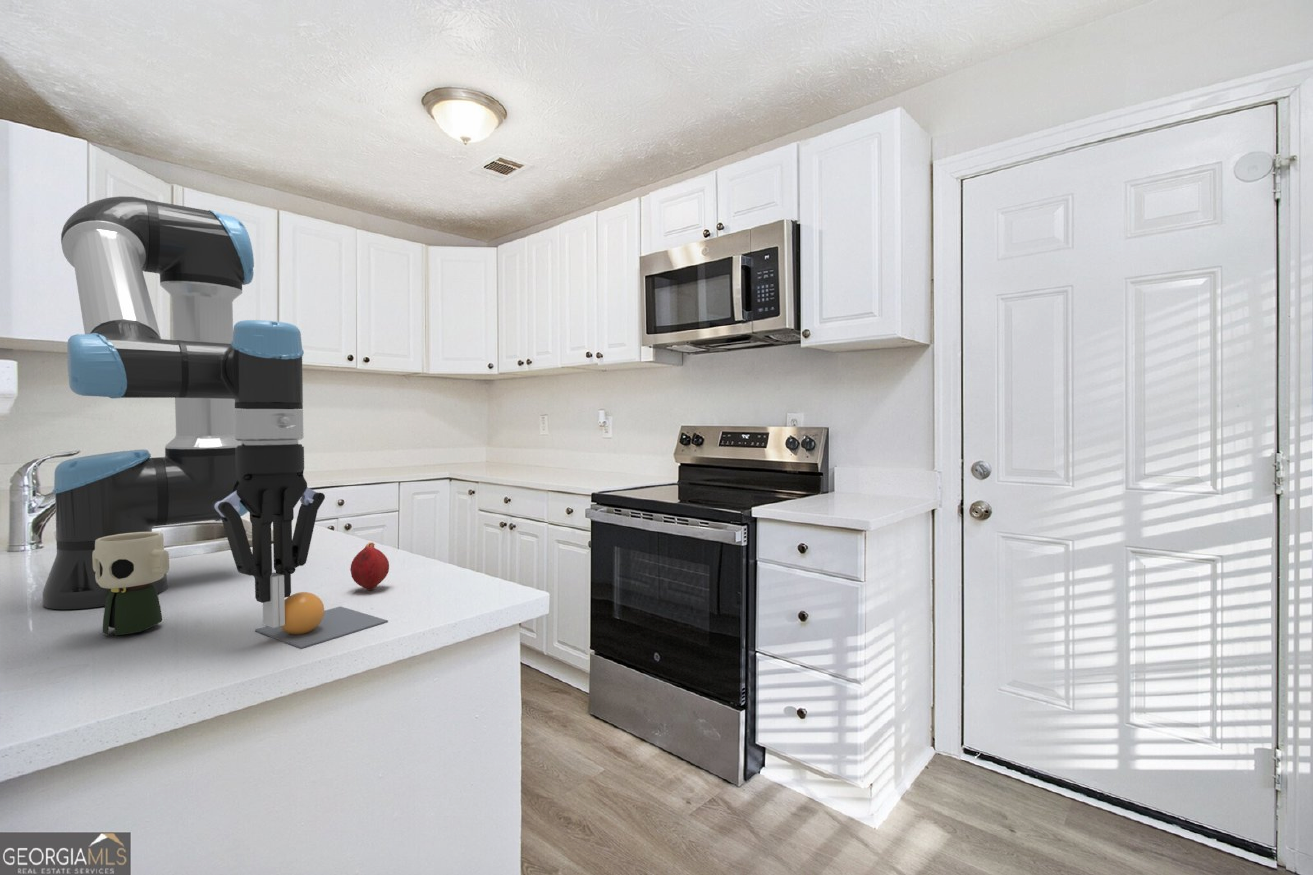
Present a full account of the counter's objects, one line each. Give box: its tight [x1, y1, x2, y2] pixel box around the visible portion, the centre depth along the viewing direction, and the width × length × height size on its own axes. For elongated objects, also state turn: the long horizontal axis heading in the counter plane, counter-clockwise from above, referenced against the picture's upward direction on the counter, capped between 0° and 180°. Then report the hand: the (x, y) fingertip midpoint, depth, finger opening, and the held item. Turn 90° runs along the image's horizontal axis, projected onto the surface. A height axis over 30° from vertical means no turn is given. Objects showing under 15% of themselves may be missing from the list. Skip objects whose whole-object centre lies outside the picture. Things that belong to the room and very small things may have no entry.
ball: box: [280, 591, 325, 635], centre depth 84 cm, size 6×6×6 cm
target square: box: [254, 605, 389, 649], centre depth 87 cm, size 12×12×1 cm
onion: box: [350, 541, 390, 591], centre depth 104 cm, size 6×6×8 cm
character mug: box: [92, 531, 170, 636], centre depth 85 cm, size 11×7×13 cm, turn 85°
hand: (274, 624), depth 81 cm, fingers closed
